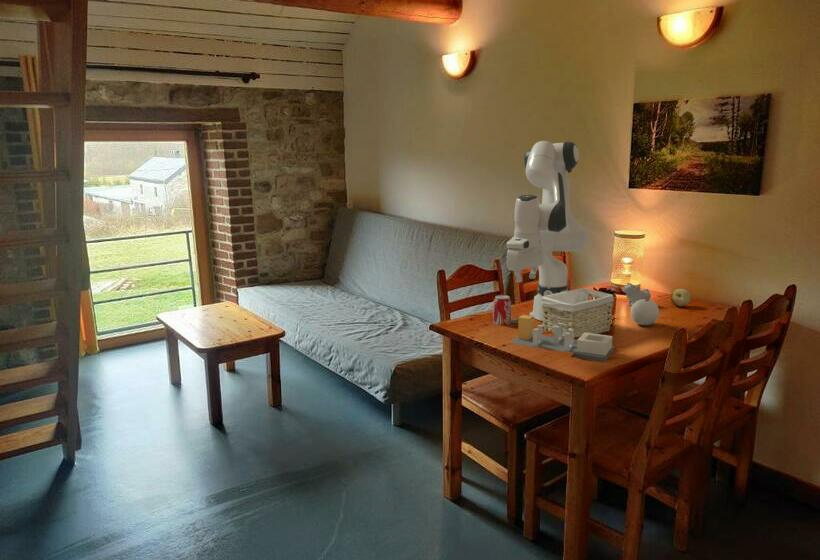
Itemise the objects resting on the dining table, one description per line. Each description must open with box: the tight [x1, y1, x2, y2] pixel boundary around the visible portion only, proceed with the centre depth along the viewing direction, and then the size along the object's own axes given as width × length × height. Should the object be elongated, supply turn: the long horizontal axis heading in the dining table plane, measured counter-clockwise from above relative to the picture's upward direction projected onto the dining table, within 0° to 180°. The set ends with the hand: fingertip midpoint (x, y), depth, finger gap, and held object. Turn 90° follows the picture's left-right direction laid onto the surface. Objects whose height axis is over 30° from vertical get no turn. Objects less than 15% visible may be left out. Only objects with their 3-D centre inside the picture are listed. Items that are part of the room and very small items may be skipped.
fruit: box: [670, 288, 692, 308], centre depth 263 cm, size 8×8×8 cm
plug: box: [511, 314, 534, 340], centre depth 219 cm, size 4×7×8 cm, turn 60°
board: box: [509, 323, 615, 363], centre depth 211 cm, size 14×33×8 cm, turn 60°
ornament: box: [630, 296, 660, 327], centre depth 236 cm, size 10×10×12 cm
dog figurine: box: [621, 282, 652, 309], centre depth 264 cm, size 5×13×11 cm, turn 95°
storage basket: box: [541, 287, 615, 338], centre depth 228 cm, size 24×16×15 cm
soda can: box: [492, 294, 512, 326], centre depth 238 cm, size 7×7×12 cm
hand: (525, 280), depth 214 cm, fingers open, 8 cm apart
